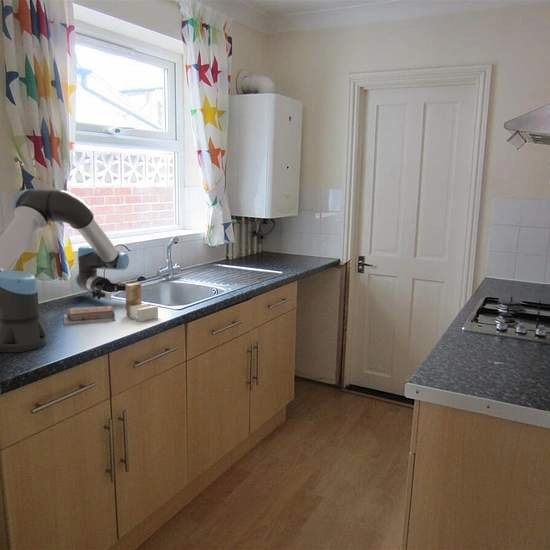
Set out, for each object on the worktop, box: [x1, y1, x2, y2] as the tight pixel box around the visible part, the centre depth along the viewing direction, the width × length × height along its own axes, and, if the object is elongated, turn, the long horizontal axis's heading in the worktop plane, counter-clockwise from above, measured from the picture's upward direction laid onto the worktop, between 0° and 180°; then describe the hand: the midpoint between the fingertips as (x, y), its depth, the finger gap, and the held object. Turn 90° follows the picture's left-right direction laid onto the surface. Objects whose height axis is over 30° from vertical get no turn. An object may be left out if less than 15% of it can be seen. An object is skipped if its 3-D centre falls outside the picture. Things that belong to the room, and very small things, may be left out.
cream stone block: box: [129, 302, 159, 322], centre depth 200 cm, size 8×7×4 cm
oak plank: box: [125, 282, 143, 317], centre depth 204 cm, size 5×3×12 cm, turn 136°
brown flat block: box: [63, 305, 116, 326], centre depth 197 cm, size 18×5×10 cm
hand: (125, 293), depth 209 cm, fingers open, 13 cm apart
